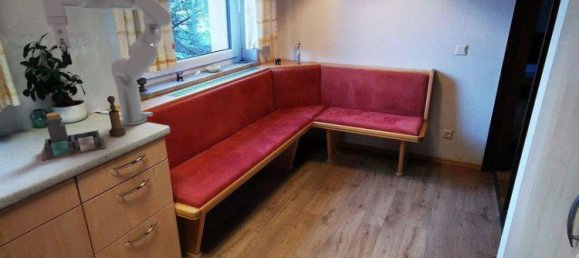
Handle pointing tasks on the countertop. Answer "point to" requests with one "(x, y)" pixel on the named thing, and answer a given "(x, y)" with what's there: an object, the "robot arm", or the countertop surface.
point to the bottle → (56, 128)
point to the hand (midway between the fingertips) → (67, 63)
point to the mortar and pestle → (115, 120)
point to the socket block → (73, 145)
